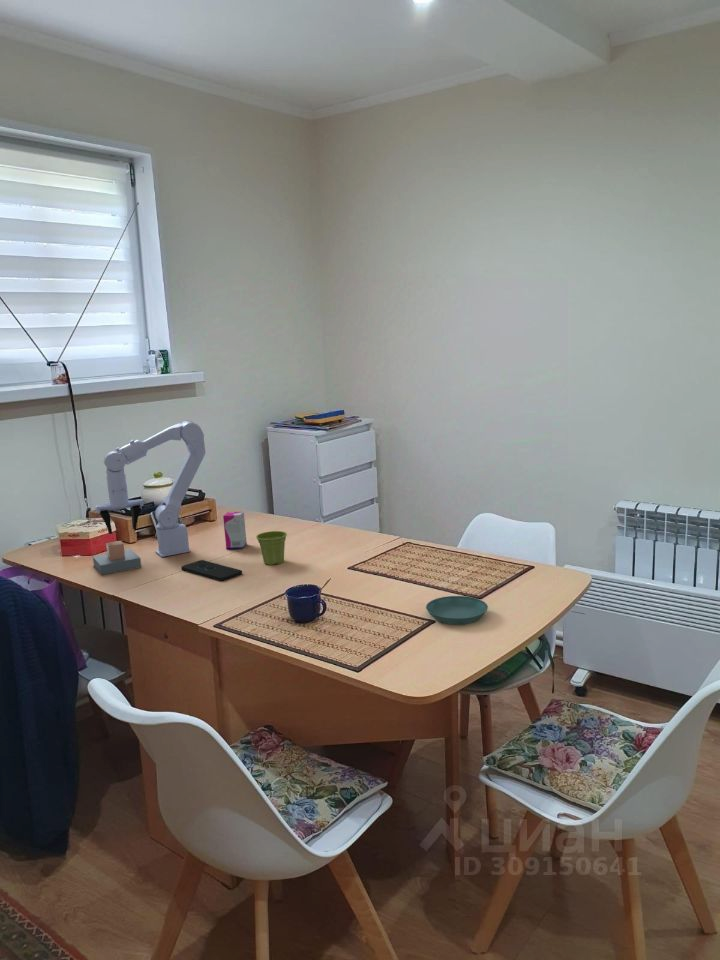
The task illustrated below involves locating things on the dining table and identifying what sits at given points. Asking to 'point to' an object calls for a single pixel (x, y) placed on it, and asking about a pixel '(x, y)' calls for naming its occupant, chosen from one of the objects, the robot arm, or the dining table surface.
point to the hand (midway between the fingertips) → (122, 531)
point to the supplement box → (235, 530)
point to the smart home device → (211, 570)
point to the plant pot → (272, 546)
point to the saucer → (457, 609)
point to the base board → (116, 562)
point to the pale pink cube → (115, 550)
